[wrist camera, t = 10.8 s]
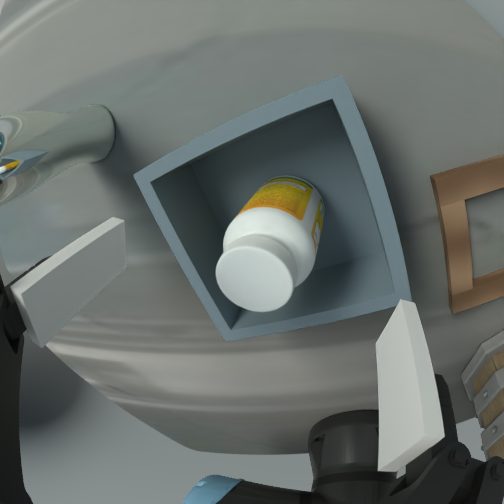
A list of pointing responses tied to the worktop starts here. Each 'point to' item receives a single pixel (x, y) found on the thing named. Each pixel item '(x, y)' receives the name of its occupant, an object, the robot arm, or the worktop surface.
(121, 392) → the worktop surface
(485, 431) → the tankard
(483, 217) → the worktop surface
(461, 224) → the socket frame
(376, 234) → the bin
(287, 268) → the supplement bottle
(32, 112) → the beer glass
